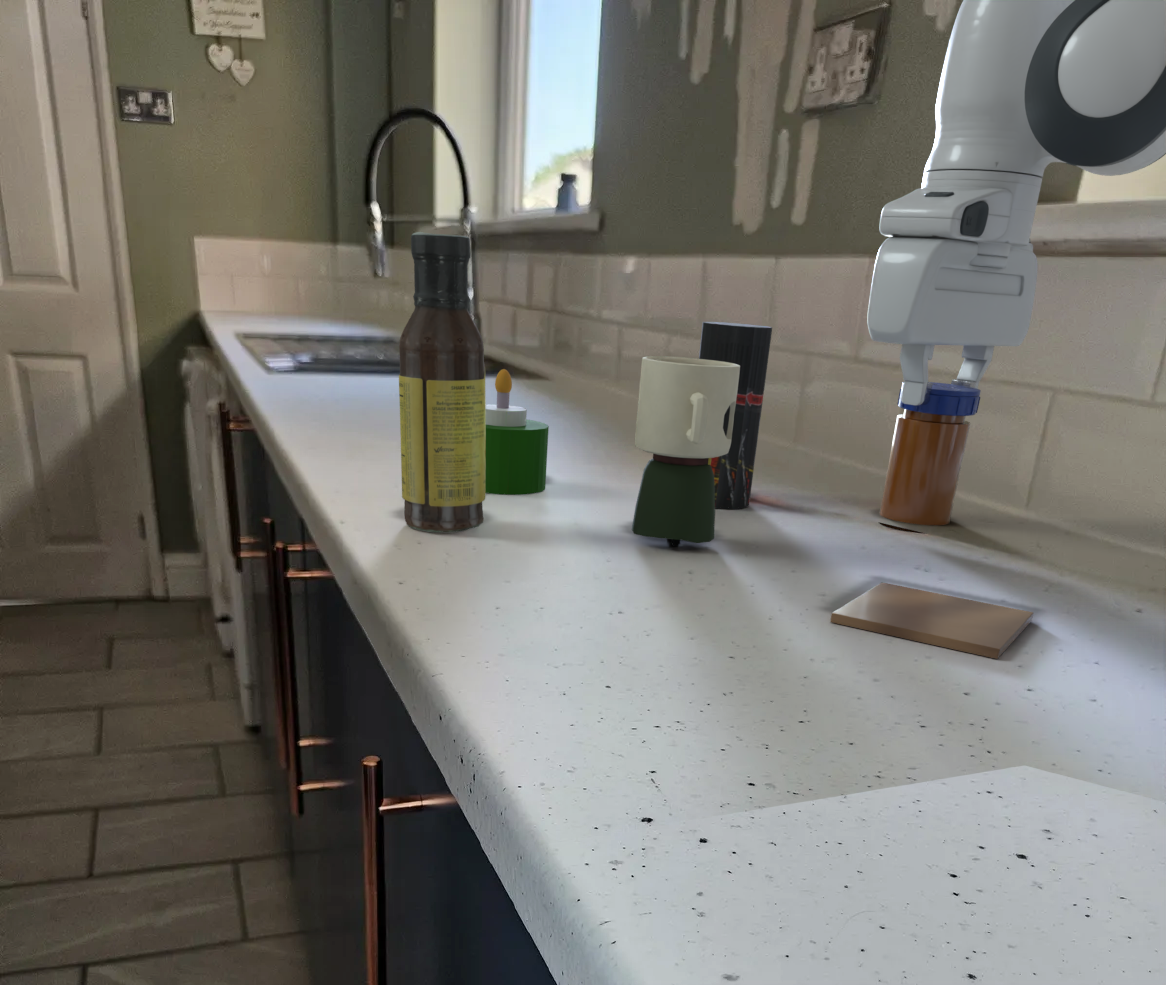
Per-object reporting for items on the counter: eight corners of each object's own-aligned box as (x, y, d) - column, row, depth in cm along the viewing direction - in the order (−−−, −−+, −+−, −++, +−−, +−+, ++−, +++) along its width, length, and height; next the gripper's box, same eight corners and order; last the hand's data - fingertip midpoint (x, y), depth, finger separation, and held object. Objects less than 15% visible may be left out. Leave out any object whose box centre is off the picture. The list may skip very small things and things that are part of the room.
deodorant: (761, 508, 98) (785, 328, 92) (702, 509, 96) (723, 325, 90) (729, 495, 103) (750, 323, 97) (672, 495, 101) (690, 320, 95)
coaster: (1031, 621, 70) (1034, 612, 70) (997, 659, 62) (999, 649, 62) (879, 590, 74) (881, 581, 74) (829, 622, 67) (831, 612, 66)
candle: (553, 496, 97) (560, 376, 93) (460, 493, 95) (463, 371, 91) (535, 478, 104) (541, 366, 100) (448, 475, 102) (450, 362, 98)
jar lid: (890, 402, 95) (894, 379, 94) (963, 407, 95) (968, 384, 94) (907, 412, 89) (912, 387, 88) (985, 418, 89) (990, 393, 88)
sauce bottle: (497, 524, 85) (507, 239, 76) (462, 539, 79) (469, 234, 71) (422, 513, 87) (424, 233, 78) (384, 527, 81) (381, 228, 73)
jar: (960, 529, 96) (987, 403, 91) (925, 536, 92) (952, 404, 88) (900, 516, 100) (924, 393, 95) (864, 522, 96) (887, 395, 91)
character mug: (733, 561, 79) (758, 371, 74) (636, 557, 78) (654, 364, 73) (702, 528, 89) (722, 357, 83) (616, 523, 88) (630, 351, 82)
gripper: (999, 227, 94) (965, 395, 100) (868, 206, 81) (838, 401, 87) (1070, 229, 90) (1030, 404, 96) (945, 207, 77) (907, 412, 83)
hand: (938, 403), depth 91 cm, fingers closed on jar lid, 6 cm apart
